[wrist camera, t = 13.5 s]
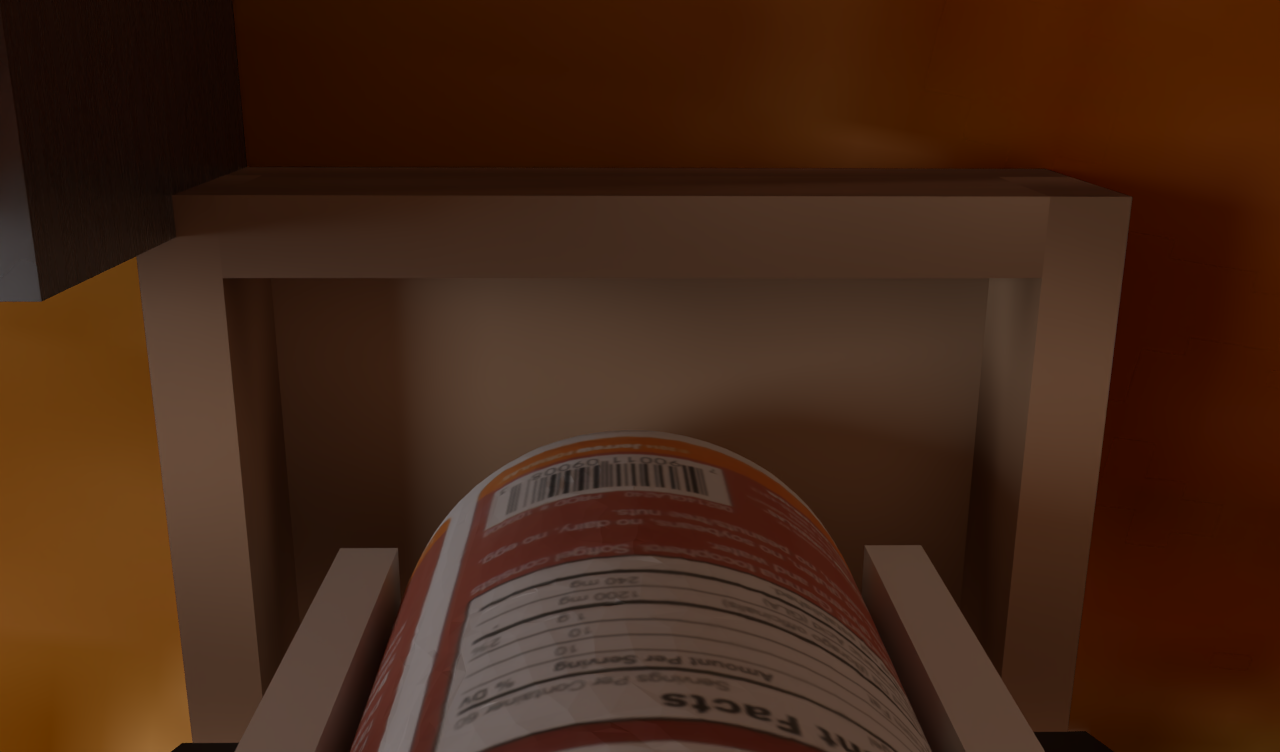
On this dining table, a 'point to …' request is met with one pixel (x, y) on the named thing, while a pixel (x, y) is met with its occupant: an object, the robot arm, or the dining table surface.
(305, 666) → the robot arm
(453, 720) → the pill bottle
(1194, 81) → the dining table surface
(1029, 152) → the dining table surface
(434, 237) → the tray
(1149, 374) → the dining table surface
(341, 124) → the dining table surface
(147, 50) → the socket
